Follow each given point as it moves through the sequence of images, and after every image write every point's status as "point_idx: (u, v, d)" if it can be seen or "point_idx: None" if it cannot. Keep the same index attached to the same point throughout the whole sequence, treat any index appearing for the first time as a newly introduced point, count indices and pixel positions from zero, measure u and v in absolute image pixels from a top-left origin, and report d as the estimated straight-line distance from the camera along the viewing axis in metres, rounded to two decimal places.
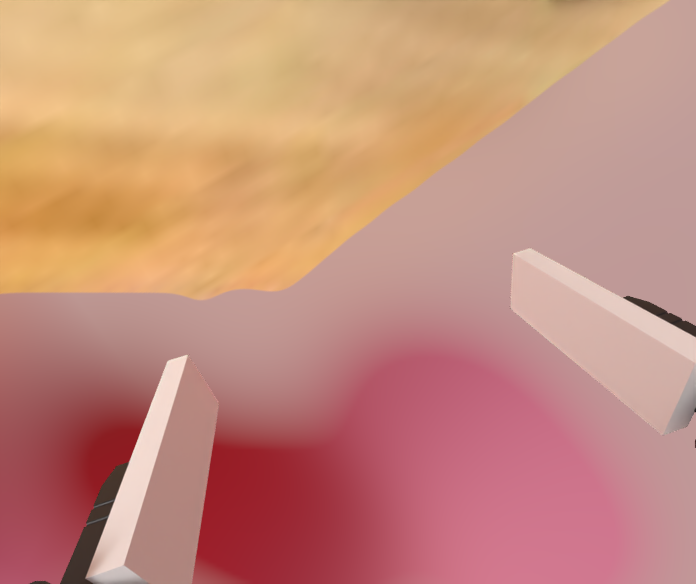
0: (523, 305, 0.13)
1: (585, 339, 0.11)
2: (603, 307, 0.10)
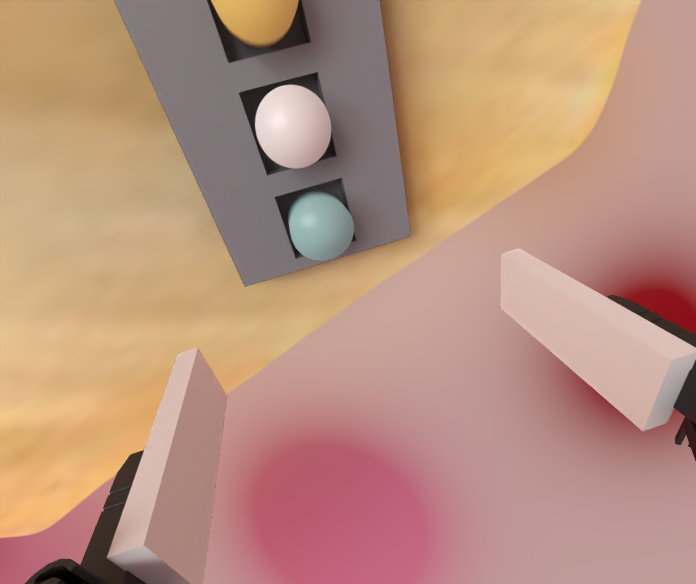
0: (512, 304, 0.14)
1: (570, 337, 0.11)
2: (586, 306, 0.10)
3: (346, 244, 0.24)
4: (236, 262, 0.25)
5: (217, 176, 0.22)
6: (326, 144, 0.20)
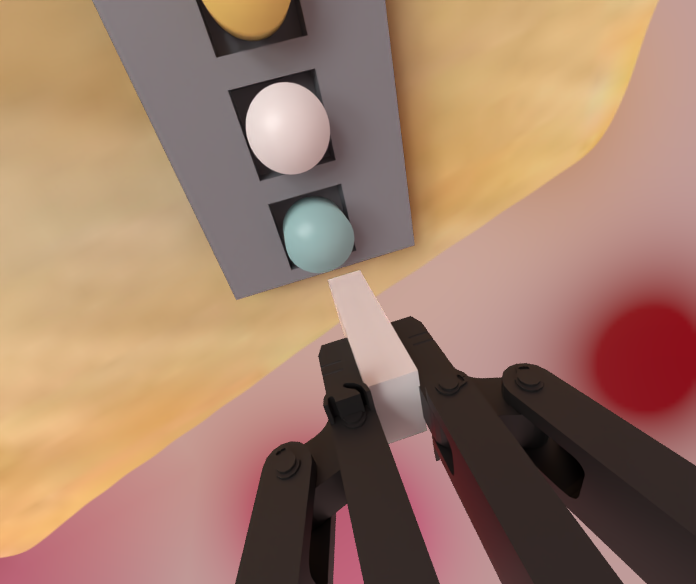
0: None
1: None
2: (370, 327, 0.11)
3: (346, 255, 0.22)
4: (227, 274, 0.23)
5: (204, 182, 0.20)
6: (324, 148, 0.18)
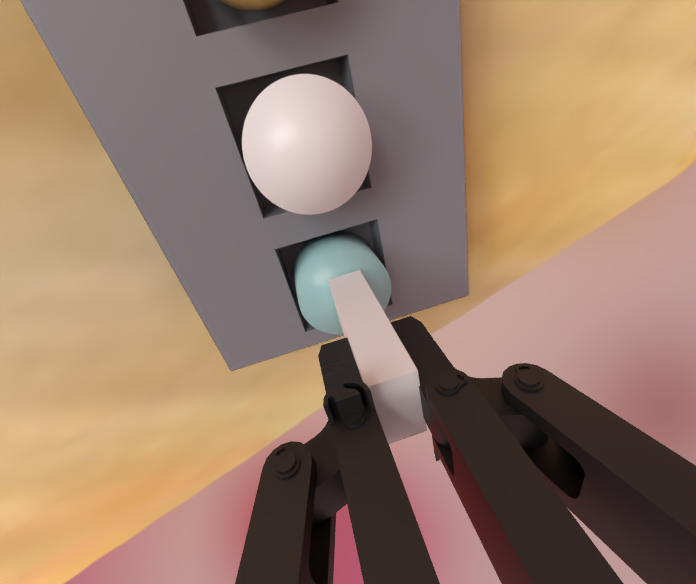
0: None
1: None
2: (370, 327, 0.11)
3: None
4: (218, 340, 0.17)
5: (183, 221, 0.14)
6: (362, 175, 0.12)
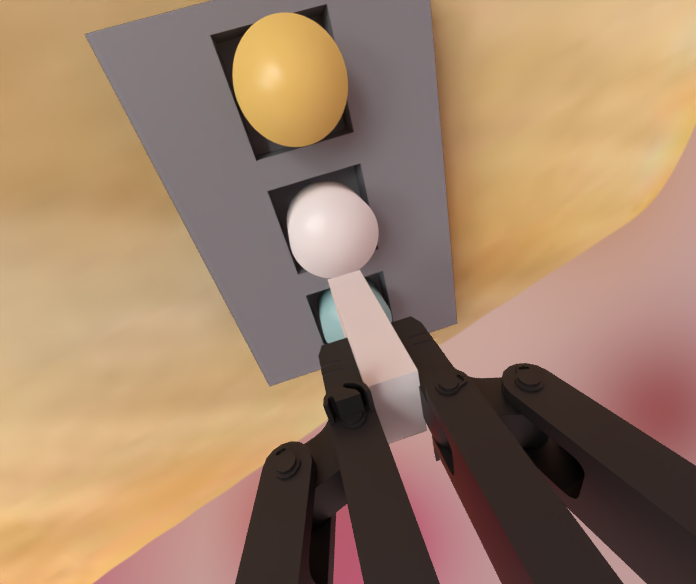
0: None
1: None
2: (370, 327, 0.11)
3: None
4: (260, 363, 0.22)
5: (240, 279, 0.19)
6: (372, 250, 0.17)
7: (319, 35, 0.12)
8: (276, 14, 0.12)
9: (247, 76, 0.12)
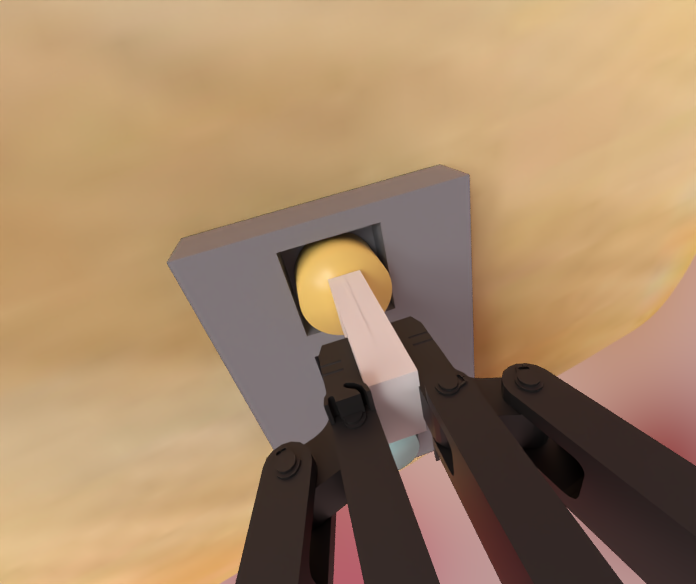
0: None
1: None
2: (370, 327, 0.11)
3: (410, 459, 0.23)
4: None
5: (283, 422, 0.20)
6: None
7: (371, 263, 0.15)
8: (338, 254, 0.14)
9: (310, 294, 0.15)
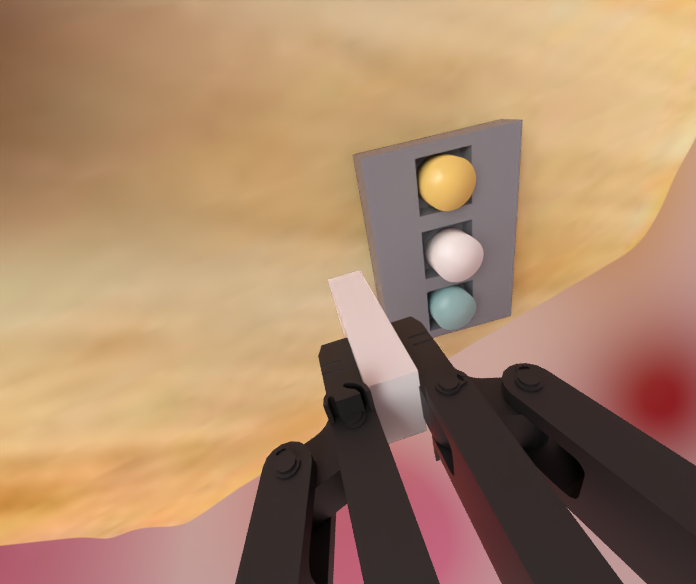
0: None
1: None
2: (370, 327, 0.11)
3: (468, 320, 0.35)
4: None
5: (394, 280, 0.33)
6: (477, 268, 0.31)
7: (467, 165, 0.27)
8: (451, 157, 0.27)
9: (433, 181, 0.27)
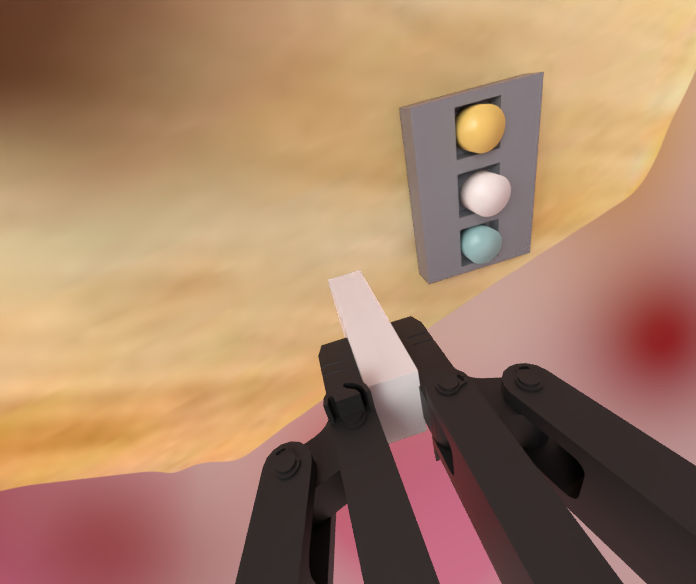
0: None
1: None
2: (370, 327, 0.11)
3: (495, 254, 0.41)
4: (428, 268, 0.41)
5: (433, 219, 0.38)
6: (505, 203, 0.36)
7: (498, 111, 0.33)
8: (486, 104, 0.32)
9: (470, 126, 0.33)
